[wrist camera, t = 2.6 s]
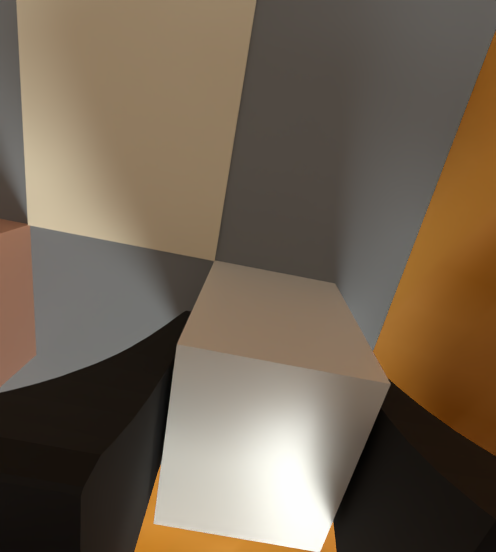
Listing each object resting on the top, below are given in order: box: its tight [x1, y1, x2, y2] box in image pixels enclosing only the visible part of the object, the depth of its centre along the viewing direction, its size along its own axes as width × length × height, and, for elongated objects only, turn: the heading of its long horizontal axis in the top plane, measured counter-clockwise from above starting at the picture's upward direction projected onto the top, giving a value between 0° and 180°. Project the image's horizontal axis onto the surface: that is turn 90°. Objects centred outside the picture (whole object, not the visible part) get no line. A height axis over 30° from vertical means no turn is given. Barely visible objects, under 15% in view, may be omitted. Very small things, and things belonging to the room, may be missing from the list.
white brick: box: [154, 260, 391, 552], centre depth 9 cm, size 4×5×5 cm
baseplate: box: [0, 0, 496, 465], centre depth 11 cm, size 18×20×1 cm
